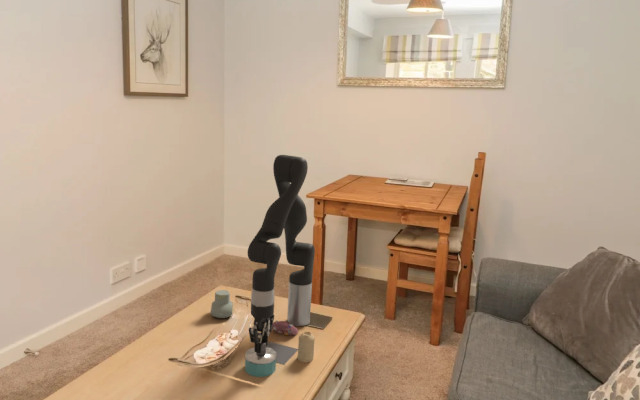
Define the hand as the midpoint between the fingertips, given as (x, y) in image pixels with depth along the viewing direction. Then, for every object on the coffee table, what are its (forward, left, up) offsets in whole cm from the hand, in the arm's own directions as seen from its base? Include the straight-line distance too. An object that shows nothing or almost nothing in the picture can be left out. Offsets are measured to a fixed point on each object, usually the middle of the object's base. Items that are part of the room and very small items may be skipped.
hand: (261, 348), depth 172 cm
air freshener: (-30, -34, -8) cm, 46 cm away
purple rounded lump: (-27, -4, -8) cm, 29 cm away
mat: (-12, 0, -8) cm, 14 cm away
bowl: (0, 0, -8) cm, 8 cm away
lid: (0, 0, -3) cm, 3 cm away
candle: (-13, +11, -8) cm, 19 cm away
